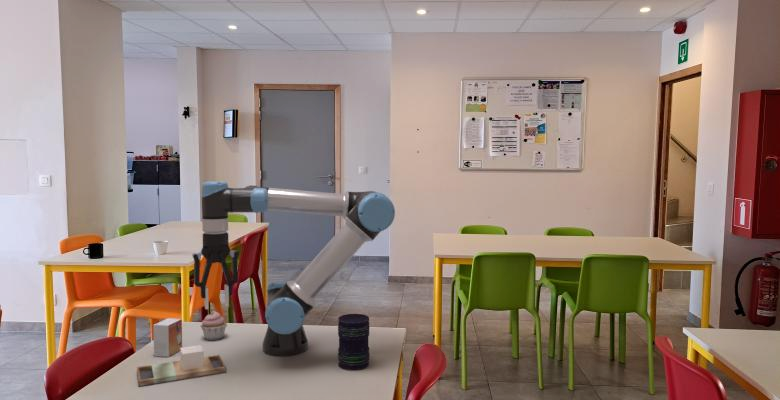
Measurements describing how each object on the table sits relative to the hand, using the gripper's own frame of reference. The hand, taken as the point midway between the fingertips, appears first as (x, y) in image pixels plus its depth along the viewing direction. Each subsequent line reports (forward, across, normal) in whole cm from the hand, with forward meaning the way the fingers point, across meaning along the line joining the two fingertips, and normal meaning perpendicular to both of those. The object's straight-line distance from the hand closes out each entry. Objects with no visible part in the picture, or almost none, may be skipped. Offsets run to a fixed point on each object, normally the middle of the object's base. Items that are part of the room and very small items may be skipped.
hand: (216, 307), depth 168 cm
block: (+17, +8, 0) cm, 19 cm away
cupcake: (+19, -4, -29) cm, 35 cm away
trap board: (+19, +10, 0) cm, 22 cm away
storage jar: (+19, -38, +17) cm, 46 cm away
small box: (+19, +12, -20) cm, 30 cm away
